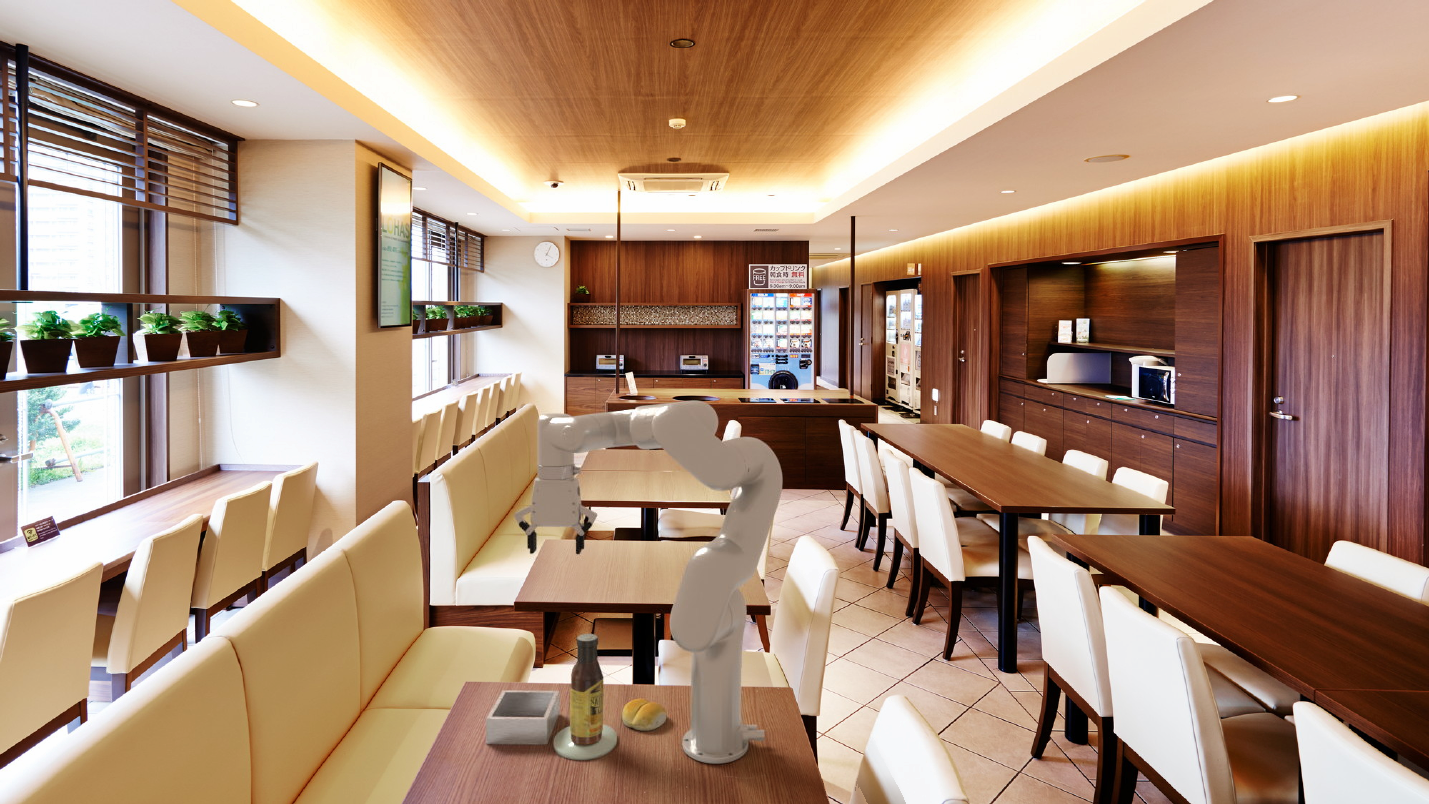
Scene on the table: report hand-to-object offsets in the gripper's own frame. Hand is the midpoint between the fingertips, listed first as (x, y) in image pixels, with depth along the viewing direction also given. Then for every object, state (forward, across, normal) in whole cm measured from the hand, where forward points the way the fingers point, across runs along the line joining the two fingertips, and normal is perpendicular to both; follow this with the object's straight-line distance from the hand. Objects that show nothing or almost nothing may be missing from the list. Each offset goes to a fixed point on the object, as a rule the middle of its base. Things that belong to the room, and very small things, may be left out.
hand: (556, 552), depth 156 cm
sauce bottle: (+32, -9, +17) cm, 37 cm away
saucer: (+32, -9, +17) cm, 38 cm away
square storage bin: (+32, +4, +12) cm, 35 cm away
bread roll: (+33, -20, +8) cm, 39 cm away
